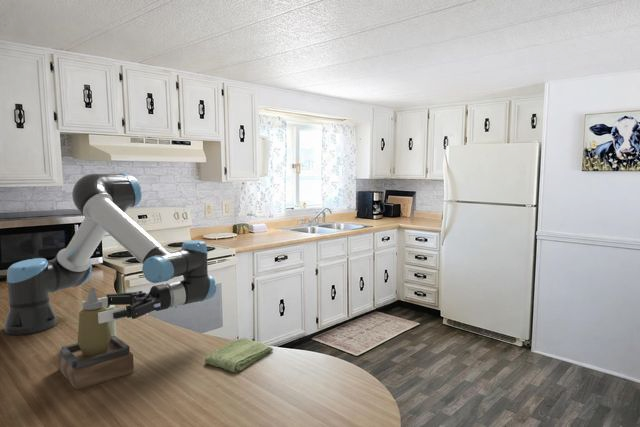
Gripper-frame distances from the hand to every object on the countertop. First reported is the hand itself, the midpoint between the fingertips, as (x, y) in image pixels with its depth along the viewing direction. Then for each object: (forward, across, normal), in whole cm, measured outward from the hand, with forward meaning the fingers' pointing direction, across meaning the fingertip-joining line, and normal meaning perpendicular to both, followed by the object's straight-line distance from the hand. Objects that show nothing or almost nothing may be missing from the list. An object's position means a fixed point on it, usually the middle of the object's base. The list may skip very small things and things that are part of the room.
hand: (90, 312), depth 114 cm
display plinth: (-1, 0, -17) cm, 17 cm away
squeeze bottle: (-1, 0, -12) cm, 12 cm away
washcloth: (-34, -20, -18) cm, 43 cm away
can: (-9, +21, -17) cm, 29 cm away
